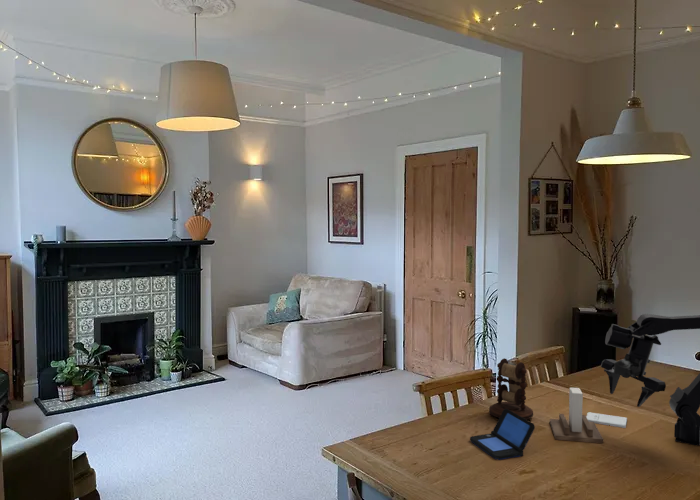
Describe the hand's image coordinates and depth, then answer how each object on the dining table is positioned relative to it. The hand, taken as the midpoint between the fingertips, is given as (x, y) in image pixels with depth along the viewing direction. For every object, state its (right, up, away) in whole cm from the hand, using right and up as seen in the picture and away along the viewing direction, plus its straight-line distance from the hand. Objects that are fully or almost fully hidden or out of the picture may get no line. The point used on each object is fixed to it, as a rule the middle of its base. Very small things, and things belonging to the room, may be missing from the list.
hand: (624, 400), depth 180 cm
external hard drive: (0, -11, +14) cm, 18 cm away
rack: (-14, -11, +4) cm, 19 cm away
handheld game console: (-41, -13, -8) cm, 44 cm away
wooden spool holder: (-31, -11, +18) cm, 37 cm away
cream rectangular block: (-14, -10, +4) cm, 18 cm away
